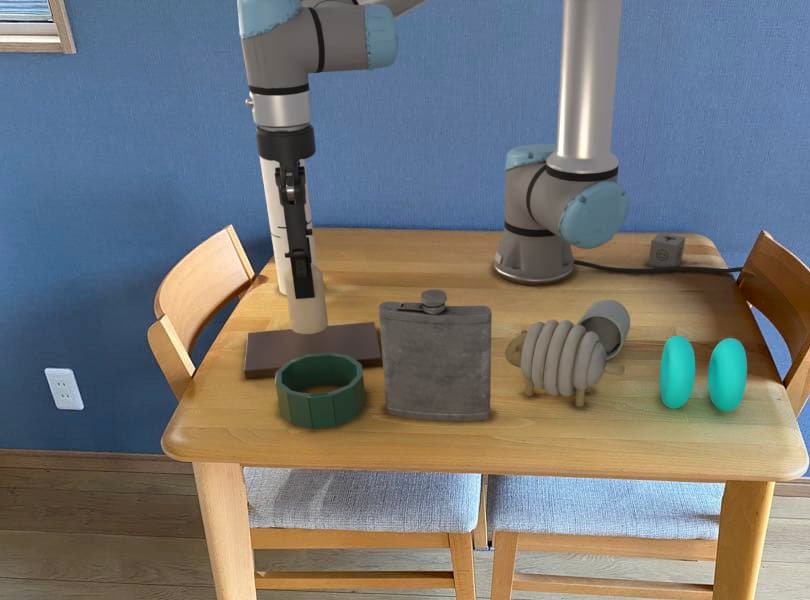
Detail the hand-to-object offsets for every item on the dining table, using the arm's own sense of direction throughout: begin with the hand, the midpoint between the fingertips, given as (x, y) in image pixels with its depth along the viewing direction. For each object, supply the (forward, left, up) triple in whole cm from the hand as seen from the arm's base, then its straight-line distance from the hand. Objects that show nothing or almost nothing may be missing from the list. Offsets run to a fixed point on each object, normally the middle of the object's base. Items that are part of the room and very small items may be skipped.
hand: (305, 288), depth 111 cm
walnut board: (0, 0, -11) cm, 11 cm away
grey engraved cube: (-68, -23, -11) cm, 73 cm away
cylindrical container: (+2, -25, -11) cm, 27 cm away
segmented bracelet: (-1, +15, -11) cm, 19 cm away
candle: (0, 0, -7) cm, 7 cm away
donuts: (-52, +25, -11) cm, 59 cm away
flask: (-16, +20, -11) cm, 28 cm away
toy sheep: (-34, +19, -11) cm, 41 cm away
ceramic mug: (-43, +7, -11) cm, 45 cm away
